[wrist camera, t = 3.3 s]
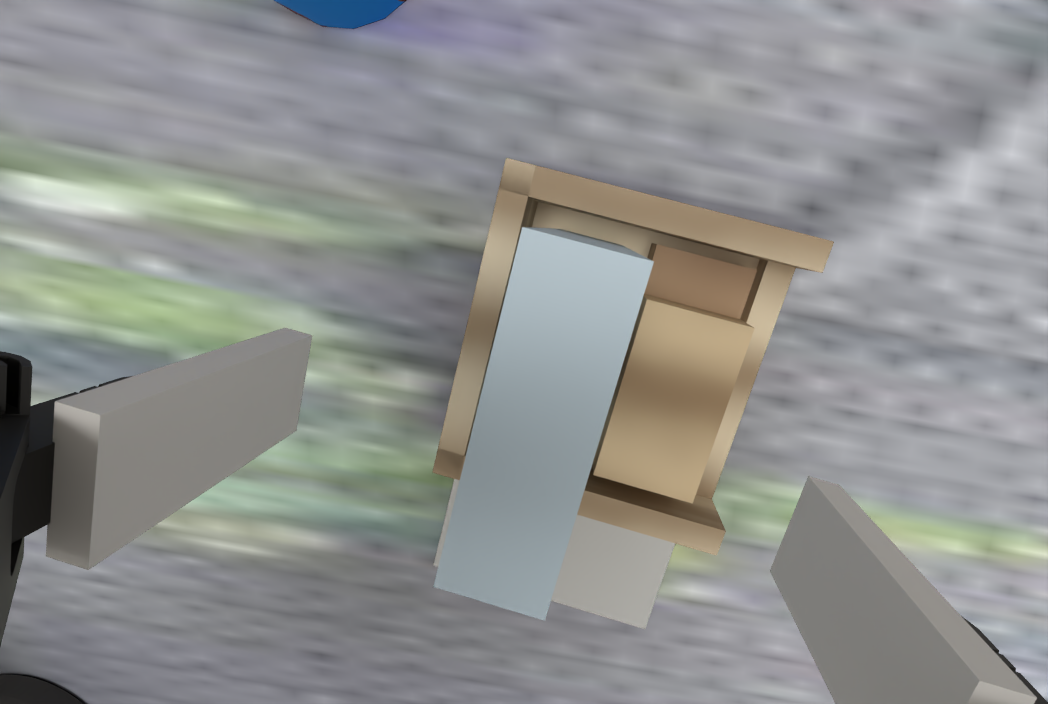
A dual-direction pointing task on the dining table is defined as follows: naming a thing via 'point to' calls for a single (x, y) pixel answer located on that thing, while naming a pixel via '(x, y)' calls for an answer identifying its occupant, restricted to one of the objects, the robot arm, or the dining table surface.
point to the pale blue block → (540, 416)
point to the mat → (603, 569)
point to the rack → (637, 225)
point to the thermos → (342, 11)
